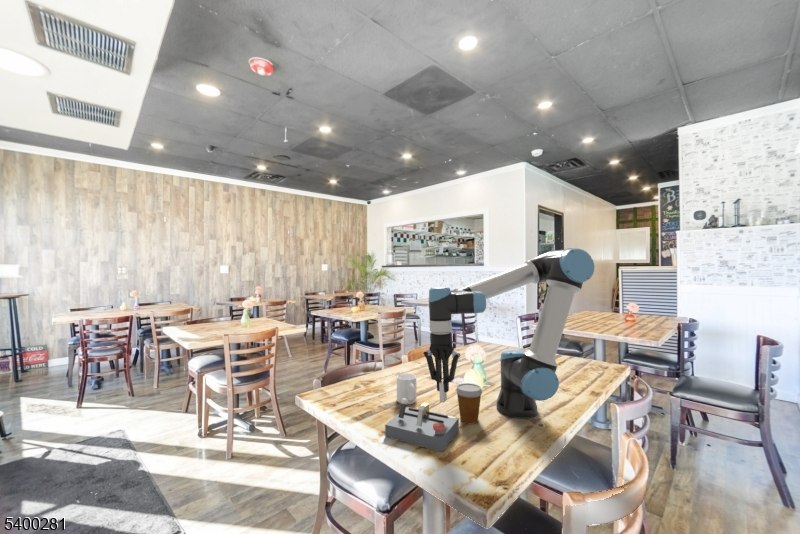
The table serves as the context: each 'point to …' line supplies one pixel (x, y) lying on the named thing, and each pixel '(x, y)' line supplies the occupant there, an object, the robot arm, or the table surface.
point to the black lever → (402, 408)
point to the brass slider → (426, 409)
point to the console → (422, 429)
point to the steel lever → (420, 415)
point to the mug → (406, 388)
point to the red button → (439, 428)
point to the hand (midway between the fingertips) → (443, 400)
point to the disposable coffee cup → (469, 402)
